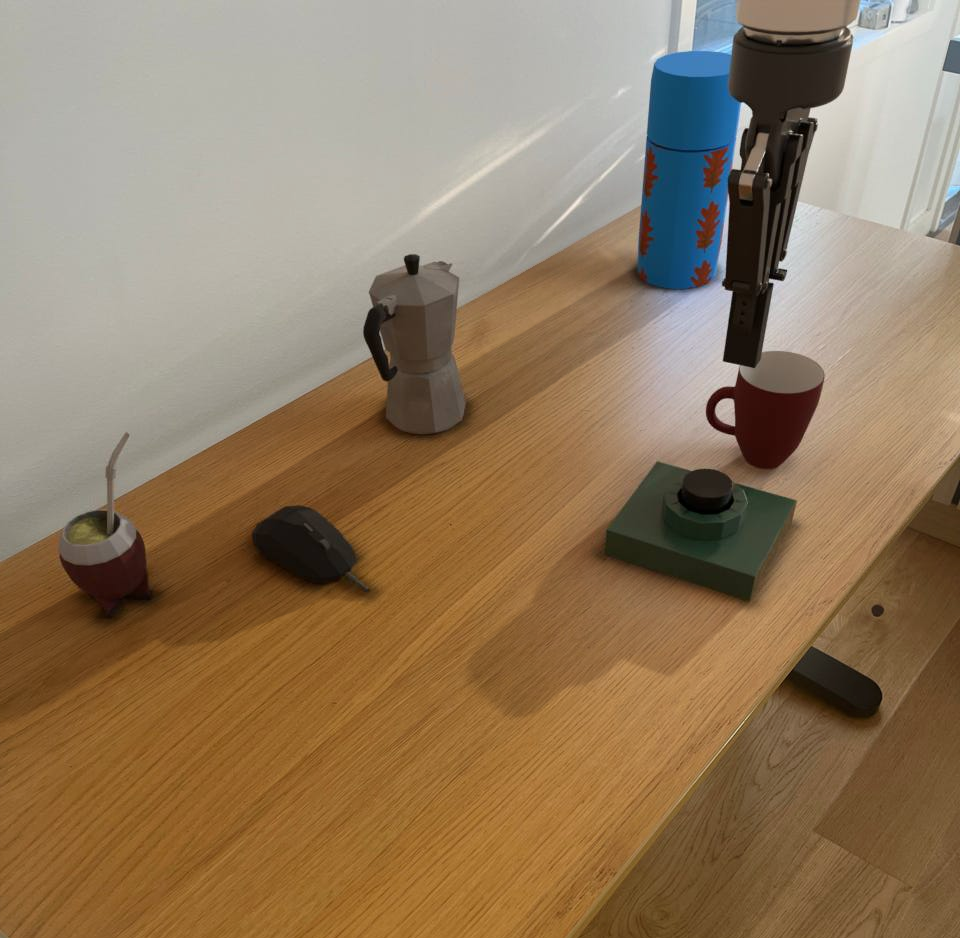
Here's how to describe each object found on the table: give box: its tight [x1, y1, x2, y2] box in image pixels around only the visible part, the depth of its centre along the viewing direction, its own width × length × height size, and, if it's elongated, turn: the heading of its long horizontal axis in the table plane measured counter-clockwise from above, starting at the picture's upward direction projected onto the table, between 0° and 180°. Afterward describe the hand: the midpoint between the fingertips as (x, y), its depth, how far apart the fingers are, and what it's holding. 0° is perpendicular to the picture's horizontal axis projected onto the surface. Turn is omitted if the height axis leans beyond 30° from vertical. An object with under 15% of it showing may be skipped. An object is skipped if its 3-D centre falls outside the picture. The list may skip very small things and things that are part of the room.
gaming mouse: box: [251, 504, 371, 593], centre depth 88 cm, size 6×15×4 cm, turn 48°
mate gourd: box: [57, 431, 155, 619], centre depth 82 cm, size 8×8×15 cm
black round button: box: [680, 468, 734, 515], centre depth 85 cm, size 4×4×2 cm
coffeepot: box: [362, 253, 467, 435], centre depth 99 cm, size 15×9×18 cm, turn 150°
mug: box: [705, 350, 826, 470], centre depth 94 cm, size 10×8×10 cm
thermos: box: [637, 50, 742, 290], centre depth 119 cm, size 11×11×25 cm
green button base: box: [604, 460, 798, 602], centre depth 87 cm, size 14×12×5 cm
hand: (741, 360), depth 77 cm, fingers closed
